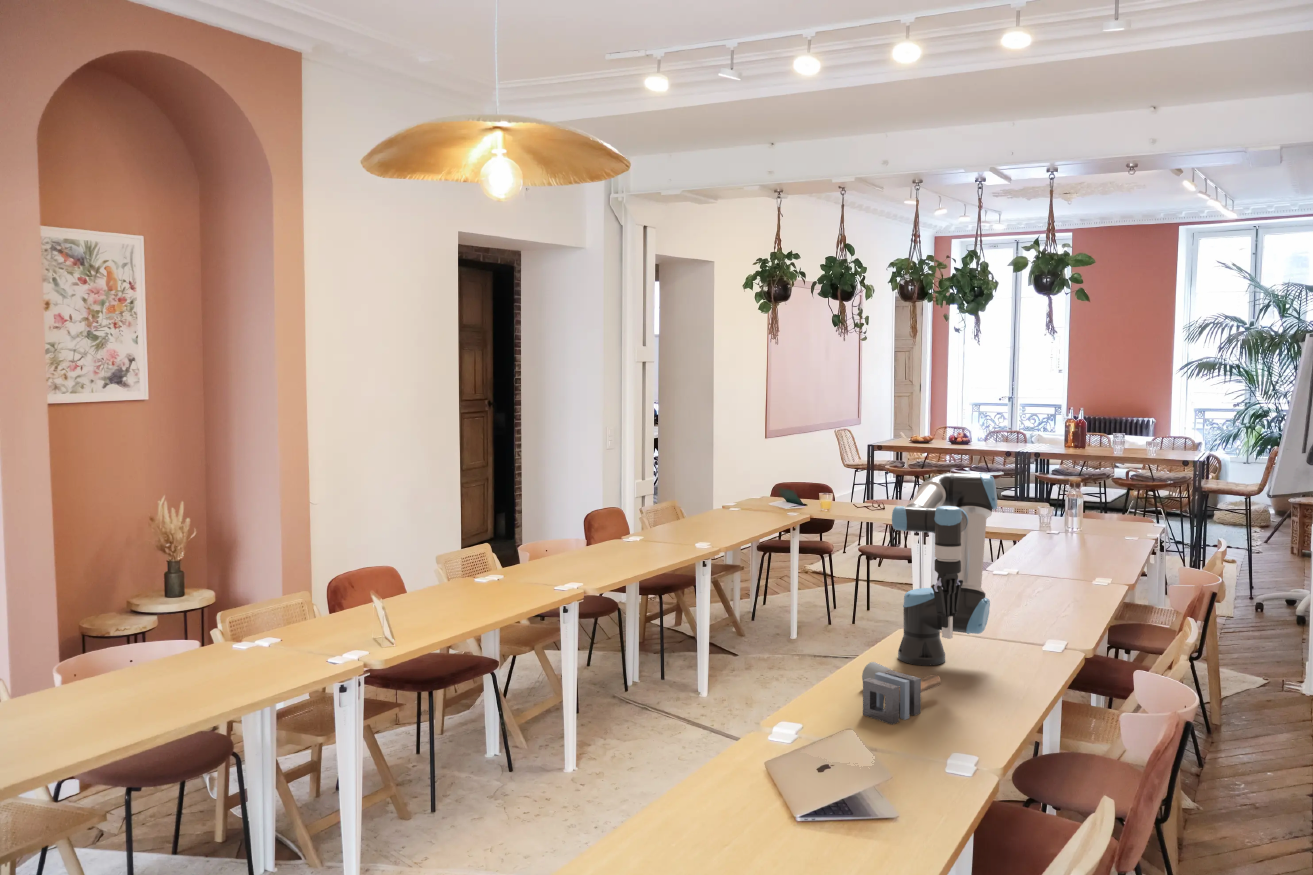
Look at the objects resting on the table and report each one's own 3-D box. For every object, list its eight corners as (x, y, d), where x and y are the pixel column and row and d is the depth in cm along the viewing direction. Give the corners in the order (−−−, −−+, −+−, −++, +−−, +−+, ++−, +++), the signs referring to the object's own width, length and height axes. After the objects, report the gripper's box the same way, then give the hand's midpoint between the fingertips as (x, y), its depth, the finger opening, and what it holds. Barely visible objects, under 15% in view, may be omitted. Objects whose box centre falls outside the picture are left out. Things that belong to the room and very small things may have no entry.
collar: (869, 712, 276) (869, 677, 275) (899, 721, 268) (899, 686, 267) (862, 714, 274) (862, 680, 273) (892, 724, 266) (892, 688, 265)
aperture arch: (879, 708, 279) (879, 672, 278) (909, 717, 271) (909, 680, 270) (874, 710, 277) (874, 673, 277) (904, 719, 270) (905, 682, 269)
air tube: (929, 685, 289) (929, 671, 289) (941, 688, 286) (941, 674, 286) (887, 701, 276) (887, 686, 276) (900, 704, 273) (900, 690, 273)
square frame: (891, 703, 282) (891, 670, 281) (920, 713, 275) (920, 678, 274) (884, 706, 280) (884, 672, 279) (914, 715, 273) (914, 680, 272)
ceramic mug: (882, 695, 289) (882, 670, 289) (861, 688, 296) (861, 663, 295) (905, 689, 295) (906, 664, 295) (884, 682, 302) (885, 657, 301)
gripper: (949, 554, 295) (948, 631, 297) (923, 560, 287) (923, 639, 289) (971, 557, 290) (970, 635, 291) (946, 563, 281) (945, 644, 283)
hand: (947, 637), depth 290 cm, fingers closed
